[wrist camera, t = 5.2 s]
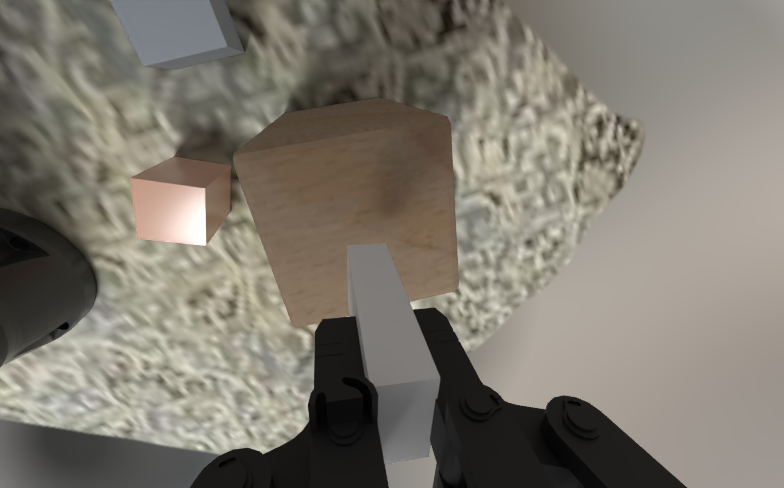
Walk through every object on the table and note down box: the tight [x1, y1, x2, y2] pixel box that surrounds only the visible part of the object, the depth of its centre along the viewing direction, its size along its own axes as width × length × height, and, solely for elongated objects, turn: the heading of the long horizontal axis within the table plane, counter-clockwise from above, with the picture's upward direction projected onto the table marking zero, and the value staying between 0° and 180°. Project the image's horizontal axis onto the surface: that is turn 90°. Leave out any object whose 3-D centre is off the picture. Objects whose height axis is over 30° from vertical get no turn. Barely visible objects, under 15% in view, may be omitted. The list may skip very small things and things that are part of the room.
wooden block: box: [233, 97, 459, 327], centre depth 25 cm, size 10×10×20 cm
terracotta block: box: [130, 157, 231, 246], centre depth 29 cm, size 5×5×8 cm
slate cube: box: [109, 0, 245, 69], centre depth 24 cm, size 6×6×6 cm
